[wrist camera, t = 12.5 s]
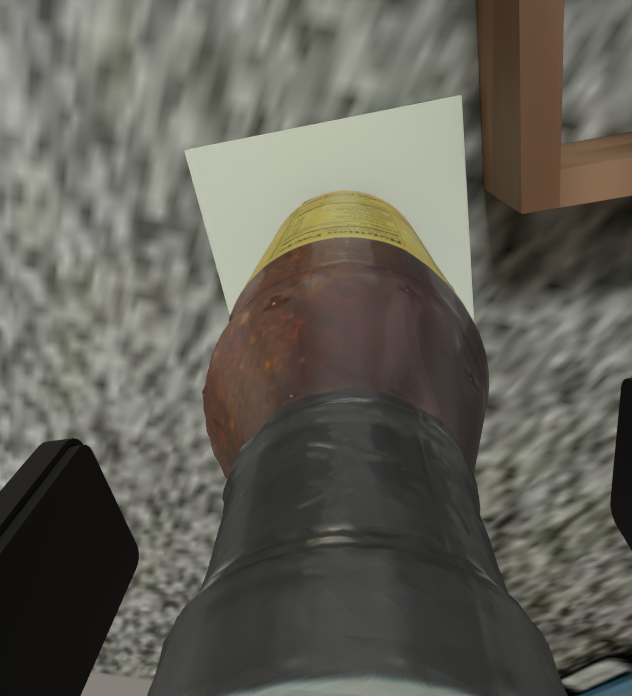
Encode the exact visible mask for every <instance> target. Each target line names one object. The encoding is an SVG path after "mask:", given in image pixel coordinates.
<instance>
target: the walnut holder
mask: <svg viewBox="0 0 632 696" xmlns="http://www.w3.org/2000/svg"><path fill="white" fill-rule="evenodd" d="M476 7H477V31H478V56H479V80H480V104H481V128H482V152H483V177H484V190H486V191H487V192H489V193H490V194H492V195H493V196H495V197H496V198H498V199H499V200H501V201H502V202H504V203H505V204H507V205H508V206H510V207H511V208H513V209H514V210H516V211H517V212H519V213H520V214H526V213H532V212H538V211H544V210H550V209H556V208H561V207H567V206H573V205H579V204H585V203H591V202H597V201H603V200H609V199H615V198H621V197H626V196H632V132H627V133H622V134H616V135H611V136H605V137H600V138H595V139H589V140H584V141H578V142H573V143H567V144H562V145H561V120H562V72H563V24H564V0H476Z"/></svg>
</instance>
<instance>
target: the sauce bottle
mask: <svg viewBox="0 0 632 696" xmlns="http://www.w3.org/2000/svg"><path fill="white" fill-rule="evenodd" d="M229 321H230V322H229V324H228V326H227V327H226V329H225V330H224V331H223V333H222V334H221V336H220V339H219V341H218V342H217V344H216V347H215V350H214V352H213V354H212V356H211V361H210V367H209V369H208V373H207V378H206V384H205V386H204V389H203V391H202V393H203V400H204V413H205V417H206V427H207V433H208V435H209V437H210V441H211V446H212V449H213V453H214V455H215V457H216V459H217V460H218V462H219V463H220V466H221V468H222V470H223V473H224V475H225V477H226V478H227V479H228V480H227V482H226V485H225V488H224V492H223V498H222V499H223V501H224V508H223V518H222V521H221V524H220V527H219V531H218V534H217V538H216V542H215V545H214V549H213V553H212V557H211V560H210V564H209V567H208V571H207V574H206V577H205V579H204V582H203V584H202V587H201V588H200V590H199V591H198V592H197V593H196V594H195V595H194V596H193V598H192V599H191V600H190V601H189V602H188V603H187V605H186V606H185V607H184V608H183V610H182V611H181V613H180V615H179V616H178V617H177V618H176V621H175V623H174V625H173V628H172V630H171V631H170V633H169V634H168V636H167V638H166V639H165V641H164V642H163V647H162V651H161V656H160V661H159V665H158V668H157V671H156V674H155V677H154V680H153V682H152V685H151V687H150V689H149V692H148V696H567V693H566V691H565V689H564V686H563V684H562V682H561V679H560V676H559V673H558V670H557V668H556V665H555V662H554V659H553V656H552V653H551V650H550V648H549V645H548V644H547V642H546V640H545V638H544V636H543V634H542V632H541V631H540V630H539V629H538V628H537V626H536V625H535V624H534V623H533V622H532V621H531V620H530V618H529V616H528V615H527V614H526V612H525V611H524V610H523V609H522V607H521V606H520V605H519V604H518V602H517V601H516V600H514V599H513V598H512V597H511V596H510V595H509V593H508V591H507V589H506V587H505V584H504V580H503V577H502V575H501V573H500V570H499V568H498V565H497V561H496V558H495V555H494V552H493V549H492V546H491V543H490V539H489V537H488V534H487V532H486V529H485V527H484V524H483V522H482V519H481V516H480V501H479V495H478V489H477V483H476V480H475V477H474V470H475V464H476V459H477V454H478V449H479V444H480V438H481V433H482V428H483V422H484V417H485V412H486V407H487V401H488V394H489V370H488V363H487V357H486V352H485V349H484V346H483V343H482V340H481V337H480V334H479V331H478V329H477V327H476V325H475V323H474V321H473V319H472V318H471V316H470V314H469V312H468V311H467V309H466V307H465V306H464V304H463V302H462V301H461V300H460V298H459V297H458V295H457V294H456V292H455V291H454V289H453V287H452V286H451V285H450V284H449V282H448V281H447V279H446V278H445V277H444V275H443V273H442V272H441V271H440V269H439V268H438V266H437V265H436V263H435V262H434V260H433V259H432V257H431V255H430V254H429V252H428V251H427V249H426V247H425V246H424V244H423V243H422V241H421V240H420V238H419V237H418V236H417V234H416V232H415V231H414V229H413V228H412V226H411V225H410V224H409V222H408V221H407V220H406V218H405V217H404V216H403V215H402V214H401V213H400V212H399V211H398V210H397V209H396V208H394V207H393V206H391V205H390V204H388V203H387V202H385V201H383V200H381V199H379V198H377V197H375V196H372V195H369V194H366V193H362V192H357V191H346V190H340V191H335V192H330V193H326V194H323V195H320V196H318V197H315V198H313V199H310V200H308V201H306V202H304V203H303V204H302V205H301V206H300V207H298V208H297V209H296V210H295V211H293V212H292V213H291V214H290V215H289V216H288V217H287V219H286V220H285V221H284V223H283V224H282V225H281V227H280V228H279V230H278V231H277V233H276V235H275V237H274V239H273V240H272V242H271V243H270V245H269V247H268V248H267V250H266V251H265V253H264V255H263V256H262V258H261V260H260V261H259V263H258V265H257V266H256V268H255V270H254V271H253V273H252V275H251V277H250V278H249V280H248V282H247V283H246V285H245V287H244V288H243V290H242V292H241V293H240V295H239V297H238V298H237V300H236V302H235V305H234V307H233V309H232V312H231V314H230V318H229Z"/></svg>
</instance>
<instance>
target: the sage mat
mask: <svg viewBox="0 0 632 696" xmlns="http://www.w3.org/2000/svg"><path fill="white" fill-rule="evenodd" d="M185 155H186V159H187V162H188V166H189V169H190V173H191V177H192V180H193V184H194V187H195V191H196V195H197V198H198V202H199V205H200V209H201V213H202V216H203V220H204V223H205V227H206V231H207V234H208V238H209V241H210V245H211V249H212V252H213V256H214V259H215V263H216V267H217V270H218V274H219V277H220V281H221V285H222V288H223V292H224V296H225V299H226V303H227V306H228V310H229V314H231V312H232V309H233V307H234V305H235V302H236V300H237V298H238V297H239V295H240V293H241V292H242V290H243V288H244V287H245V285H246V283H247V282H248V280H249V278H250V277H251V275H252V273H253V271H254V270H255V268H256V266H257V265H258V263H259V261H260V260H261V258H262V256H263V255H264V253H265V251H266V250H267V248H268V247H269V245H270V243H271V242H272V240H273V239H274V237H275V235H276V233H277V231H278V230H279V228H280V227H281V225H282V224H283V223H284V221H285V220H286V219H287V217H288V216H289V215H290V214H291V213H292V212H293V211H295V210H296V209H297V208H298V207H300V206H301V205H302V204H303V203H304V202H306V201H308V200H310V199H313V198H315V197H318V196H320V195H323V194H326V193H330V192H335V191H340V190H346V191H357V192H362V193H366V194H369V195H372V196H375V197H377V198H379V199H381V200H383V201H385V202H387V203H388V204H390V205H391V206H393V207H394V208H396V209H397V210H398V211H399V212H400V213H401V214H402V215H403V216H404V217H405V218H406V220H407V221H408V222H409V224H410V225H411V226H412V228H413V229H414V231H415V232H416V234H417V236H418V237H419V238H420V240H421V241H422V243H423V244H424V246H425V247H426V249H427V251H428V252H429V254H430V255H431V257H432V259H433V260H434V262H435V263H436V265H437V266H438V268H439V269H440V271H441V272H442V273H443V275H444V277H445V278H446V279H447V281H448V282H449V284H450V285H451V286H452V287H453V289H454V291H455V292H456V294H457V295H458V297H459V298H460V300H461V301H462V302H463V304H464V306H465V307H466V309H467V311H468V312H469V314H470V316H471V318H472V319H473V321H474V312H473V294H472V276H471V258H470V240H469V222H468V204H467V186H466V168H465V150H464V132H463V114H462V95H458V96H453V97H448V98H443V99H438V100H433V101H428V102H423V103H418V104H413V105H408V106H403V107H398V108H393V109H388V110H383V111H378V112H373V113H368V114H363V115H358V116H353V117H348V118H343V119H338V120H333V121H328V122H323V123H318V124H313V125H308V126H303V127H298V128H293V129H288V130H283V131H278V132H273V133H268V134H263V135H258V136H253V137H248V138H243V139H238V140H233V141H228V142H223V143H218V144H213V145H208V146H203V147H198V148H193V149H188V150H185Z"/></svg>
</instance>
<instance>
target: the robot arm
mask: <svg viewBox="0 0 632 696" xmlns="http://www.w3.org/2000/svg"><path fill="white" fill-rule="evenodd" d="M611 512H612V515H613V518H614V521H615V523H616V525H617V527H618V529H619V530H620V532H621V533H622V535H623V537H624V538H625V540H626V542H627V543H628V545H629V547H630V548H631V550H632V378H627V379H625V380H624V381H623V382H622V386H621V394H620V405H619V416H618V426H617V437H616V448H615V458H614V469H613V480H612V490H611ZM138 559H139V552H138V547H137V544H136V542H135V540H134V538H133V536H132V534H131V532H130V529H129V527H128V525H127V523H126V521H125V519H124V517H123V515H122V513H121V510H120V508H119V506H118V504H117V502H116V500H115V498H114V496H113V494H112V491H111V489H110V487H109V485H108V483H107V481H106V479H105V477H104V475H103V472H102V470H101V468H100V466H99V464H98V462H97V460H96V458H95V456H94V453H93V451H92V450H91V448H90V447H89V446H87V445H83V444H82V442H81V441H79V440H78V439H74V438H72V439H64V440H56V441H48V442H44V443H42V444H41V445H40V446H38V448H37V449H36V450H35V451H34V452H33V453H32V455H31V456H30V457H29V458H28V459H27V460H26V462H25V463H24V464H23V465H22V466H21V468H20V469H19V470H18V471H17V472H16V473H15V475H14V476H13V477H12V478H11V479H10V480H9V482H8V483H7V484H6V485H5V486H4V487H3V489H2V490H1V491H0V696H81V693H82V691H83V689H84V686H85V684H86V682H87V680H88V677H89V675H90V673H91V670H92V668H93V666H94V664H95V661H96V659H97V657H98V654H99V652H100V650H101V648H102V645H103V643H104V641H105V638H106V636H107V634H108V632H109V629H110V627H111V625H112V623H113V620H114V618H115V616H116V613H117V611H118V609H119V607H120V604H121V602H122V600H123V597H124V595H125V593H126V591H127V588H128V586H129V584H130V581H131V579H132V577H133V575H134V572H135V570H136V568H137V565H138Z"/></svg>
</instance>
